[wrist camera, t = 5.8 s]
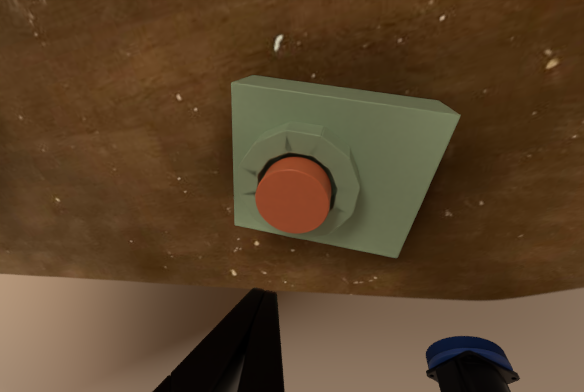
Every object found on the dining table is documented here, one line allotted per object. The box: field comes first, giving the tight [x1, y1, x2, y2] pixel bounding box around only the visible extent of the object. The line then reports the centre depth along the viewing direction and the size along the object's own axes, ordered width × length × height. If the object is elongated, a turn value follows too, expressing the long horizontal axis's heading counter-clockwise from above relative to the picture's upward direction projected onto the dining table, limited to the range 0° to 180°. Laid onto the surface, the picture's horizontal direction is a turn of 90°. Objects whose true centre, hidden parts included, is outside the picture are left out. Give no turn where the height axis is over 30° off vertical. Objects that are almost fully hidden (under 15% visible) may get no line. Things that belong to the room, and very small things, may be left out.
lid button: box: [255, 157, 332, 234], centre depth 14 cm, size 4×4×2 cm
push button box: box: [231, 75, 460, 258], centre depth 17 cm, size 12×10×6 cm
